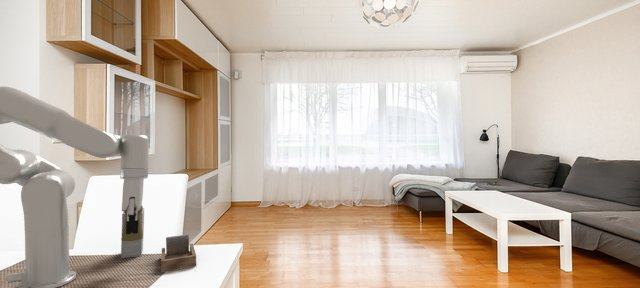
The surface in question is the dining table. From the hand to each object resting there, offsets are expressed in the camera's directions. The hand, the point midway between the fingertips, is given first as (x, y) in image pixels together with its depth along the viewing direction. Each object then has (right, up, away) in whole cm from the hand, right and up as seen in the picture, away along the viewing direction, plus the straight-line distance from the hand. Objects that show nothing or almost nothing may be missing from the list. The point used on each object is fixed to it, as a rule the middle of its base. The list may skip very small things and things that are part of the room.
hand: (132, 231), depth 100 cm
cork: (0, -3, 0) cm, 3 cm away
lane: (+12, -12, +6) cm, 18 cm away
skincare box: (-8, -12, +14) cm, 20 cm away
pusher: (+9, -12, +11) cm, 19 cm away
